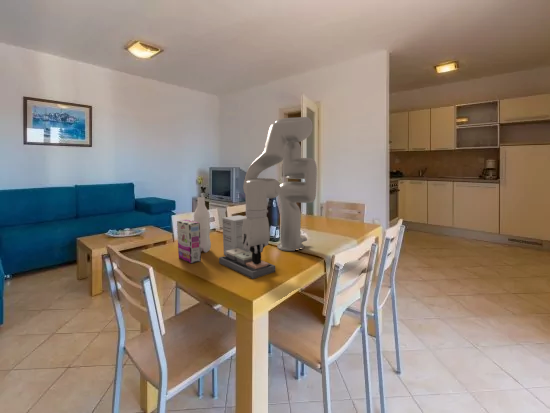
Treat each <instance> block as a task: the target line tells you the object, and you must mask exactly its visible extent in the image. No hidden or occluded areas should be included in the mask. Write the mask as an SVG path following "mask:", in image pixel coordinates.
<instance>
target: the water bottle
mask: <svg viewBox="0 0 550 413" xmlns="http://www.w3.org/2000/svg"><path fill="white" fill-rule="evenodd" d="M205 201H206V200H205V197H204V196H201V197H199V196H198V197H197V202H196V203H197V205H196V208H195V211H194V212H193V221H194V222H198V223H200V248H201V253H202V252H203V253H209V251H210V250H211V246H212V242H211V237H210V233H211V221H210V220H211V218H210V217H211V214H210V212H209V209H208V208H207V206H206V202H205Z"/></svg>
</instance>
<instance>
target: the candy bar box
mask: <svg viewBox="0 0 550 413" xmlns="http://www.w3.org/2000/svg"><path fill="white" fill-rule="evenodd" d="M176 227H177V228H176V229H177V233H176V234H177V250H178V251H177V252H178V259H180V260H183V261H185V262H188V263H190V264H195V263H199V262H201V261H202V255H201V253H202V252H201V248H200V223H198V222H194V220H189V219H181V220H177V221H176Z"/></svg>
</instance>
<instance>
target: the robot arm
mask: <svg viewBox="0 0 550 413" xmlns="http://www.w3.org/2000/svg"><path fill="white" fill-rule="evenodd" d="M313 128H314V126H313V121H312V120H311V118H310V117H309V116H300V117H284V118H278V119H277V120H275V122H274V123H271V125H270V126H269V129H268V131H267V136H266V139H265V144H264V148H263V151H262V153H261V154H260V155H259V156H258V157H257V158H255V160H253V162H252V163H251V164H250V165H249V167H248V168H247V170H246V174H245V176H244V180H243V187H242V188H243V193H244V195H245V217H246V218H244V220H243V226H242V244H244V249H246V250H250V251H251V252H252V262H253V263H256V264H259V263H261V260H262V253H263V250H264V248H265V247H267V246H269V241H270V237H271V236H270V235H271V232H270V222H269V218H268V216H267V214H268V213H269V209H267V199H274V198H277V197H278V198H279V205H280V243H278V244H277V247H276V248H277V250H280V251H285V252H296V251H295V250H296V249H300V248H303V247H305V246H304V244H303V242H306V241H308V239H307V237H306V236H305V237H301V233H302V232H301V231H302V230H301V224H302V223H301V221H302V220H301V216H302V215H301V214H302V213H301V208H300V206H299V205H298V203H300V204H302V203H303V204H308V203H309V204H310V203H314V202H315V199H316V197H317V178H318V173H317V172H318V168H317V163H316V161H315V160H314V159H313V158H311V157H302V147H301V143H300V142H303V141H305V140H306V139H308V138H309V137H310V136H311V135H312V132H313ZM281 162H282V163H281ZM280 163H281V164H282V167H281V168H282V175H283V177H284V178H286V179H290V180H291V179H293V180H304V181H284V182H282V183H280V182H279V180H277V179H276V178H275V179H274V178H266V177H265V178H263V177H258V176H259V175H260V174H261V173H262V172H264V171H265V170H266V169H269V168H271V167H273V166H275V165H278V164H280ZM303 249H304V248H303Z"/></svg>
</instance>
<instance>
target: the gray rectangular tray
mask: <svg viewBox="0 0 550 413" xmlns="http://www.w3.org/2000/svg"><path fill="white" fill-rule="evenodd" d="M261 261H263V260H262V259H261ZM218 263H219V264H220V265H221V266H224V267H226V268H228V269H231V270H233V271H235V272H236V273H240V274H241V275H244V276H246V277H247V278H250V279H252V280H254V279H258V278H262V277H263V276H264V277H265V276H266V275H269V274H273V273H276V265H274V264H273V263H269V262H267V263H268V265H267V267H266V268H263V269H259V270H256V271H251V270H249V269H247V265H246V264H245V265H244V264H242V263H239V262H237V260H232V259H230V258H228V257H227V256H226V255H223V256H220V257H218Z"/></svg>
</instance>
